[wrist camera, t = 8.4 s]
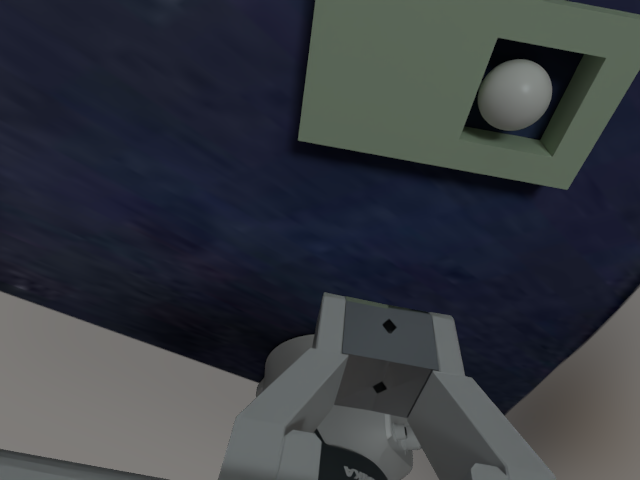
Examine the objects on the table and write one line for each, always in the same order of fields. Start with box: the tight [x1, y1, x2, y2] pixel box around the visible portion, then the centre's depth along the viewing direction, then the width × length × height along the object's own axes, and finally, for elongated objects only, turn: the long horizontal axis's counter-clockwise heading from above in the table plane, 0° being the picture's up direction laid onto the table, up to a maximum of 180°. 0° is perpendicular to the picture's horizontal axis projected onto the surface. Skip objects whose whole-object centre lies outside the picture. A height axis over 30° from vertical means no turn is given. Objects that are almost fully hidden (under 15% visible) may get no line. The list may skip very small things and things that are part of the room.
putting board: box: [298, 0, 640, 190], centre depth 26 cm, size 18×10×2 cm, turn 81°
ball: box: [478, 59, 552, 131], centre depth 25 cm, size 4×4×4 cm
